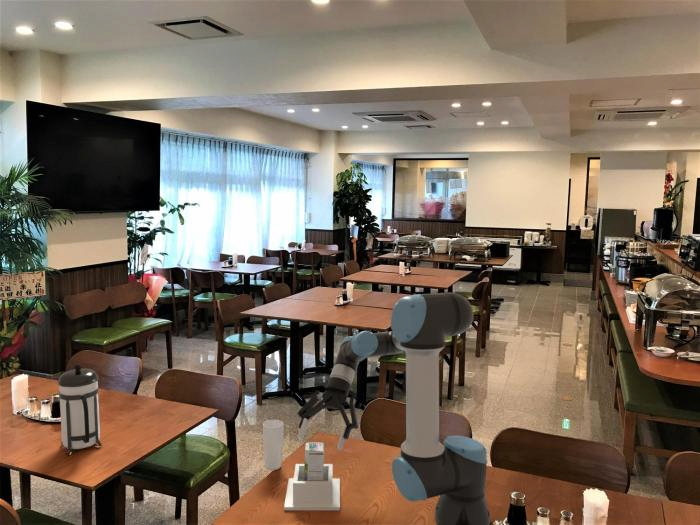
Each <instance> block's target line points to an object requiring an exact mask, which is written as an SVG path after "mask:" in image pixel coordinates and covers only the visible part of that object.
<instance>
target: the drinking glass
mask: <svg viewBox="0 0 700 525" xmlns="http://www.w3.org/2000/svg"><path fill="white" fill-rule="evenodd" d="M284 429H285V428H284V422H283V421H281V420H278V419H270V420H265V421H264V422H263V424H262V441H263V442H262V444H263V451H264V452H263V453H264V466H265V469H266V470H269V471H276V470H279V469H280V468H281V467H282V456H283V445H284V444H283V443H284V433H285V432H284Z"/></svg>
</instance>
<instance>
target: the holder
mask: <svg viewBox="0 0 700 525" xmlns="http://www.w3.org/2000/svg"><path fill="white" fill-rule="evenodd" d="M333 466H334V465H333V463H324V474H323V481H304V463H295V466H294V468H295V469H294V473H293V477H291V478H290V477H289V478H288V481H287V482H288V483H287V487H286V492H285V494H286V495H285V500H284V507H283V511H341V489H340V488H341V483H340V482H341V479H340V478H335V477H333V475H334V474H333V470H334V467H333Z"/></svg>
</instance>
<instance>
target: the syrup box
mask: <svg viewBox="0 0 700 525" xmlns="http://www.w3.org/2000/svg"><path fill="white" fill-rule="evenodd" d="M304 448H305V450H304V463H303V464H304V481H323V474H324V464H325V443H324V442H315V441H314V442H313V441H312V442H306V443H305V447H304Z"/></svg>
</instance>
